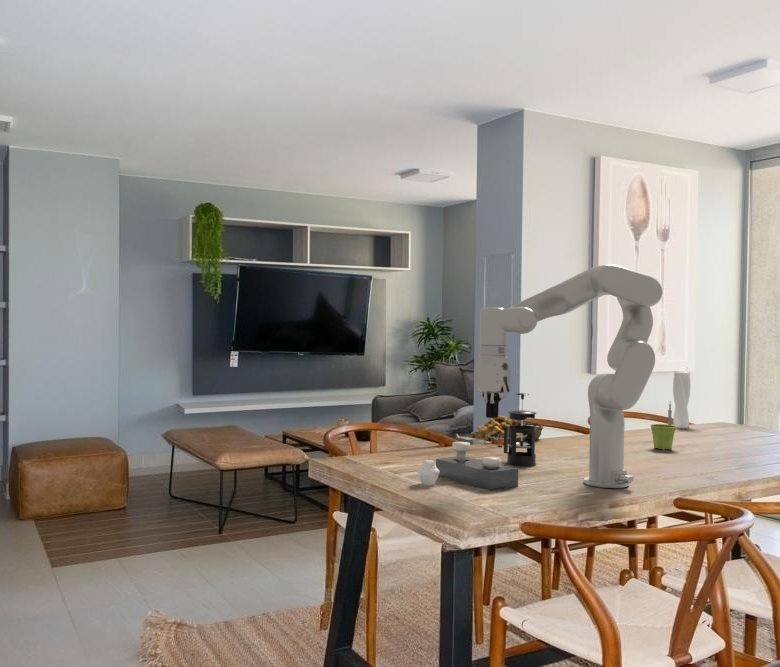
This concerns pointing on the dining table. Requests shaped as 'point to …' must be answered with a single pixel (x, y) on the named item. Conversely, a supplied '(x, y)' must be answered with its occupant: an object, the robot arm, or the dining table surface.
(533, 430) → the french press
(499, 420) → the food tray
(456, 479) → the mount
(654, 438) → the plant pot
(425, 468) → the white ribbed round lump
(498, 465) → the knob
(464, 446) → the knob
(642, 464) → the dining table surface
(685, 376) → the skyscraper
